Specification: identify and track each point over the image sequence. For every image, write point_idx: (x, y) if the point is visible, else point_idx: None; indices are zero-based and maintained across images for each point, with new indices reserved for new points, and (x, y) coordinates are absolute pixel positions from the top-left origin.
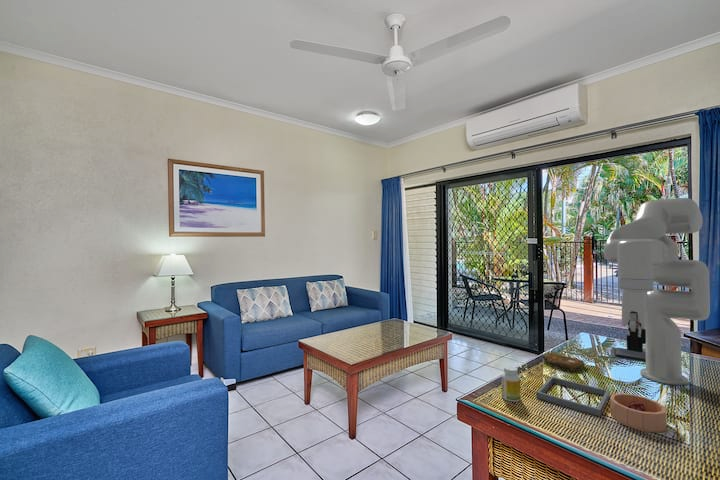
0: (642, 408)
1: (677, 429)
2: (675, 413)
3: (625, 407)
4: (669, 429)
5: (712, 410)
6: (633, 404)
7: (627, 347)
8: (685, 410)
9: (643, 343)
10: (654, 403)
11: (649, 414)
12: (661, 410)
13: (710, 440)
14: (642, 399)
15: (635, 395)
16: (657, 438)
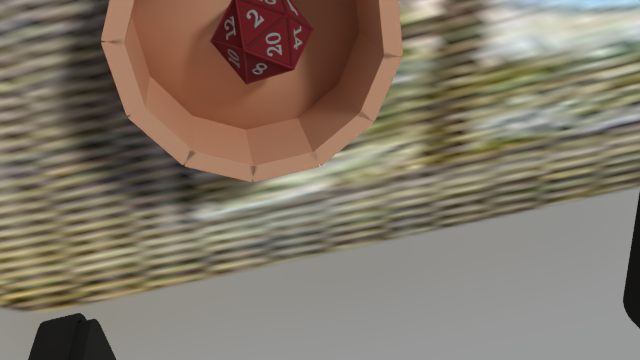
0: (251, 72)
1: None
2: (489, 109)
3: (110, 27)
4: None
5: (627, 187)
6: (247, 29)
7: (41, 347)
8: (557, 126)
9: (628, 288)
10: (359, 104)
11: (155, 138)
12: (313, 139)
13: (304, 251)
14: (378, 39)
15: (386, 4)
16: (124, 138)
